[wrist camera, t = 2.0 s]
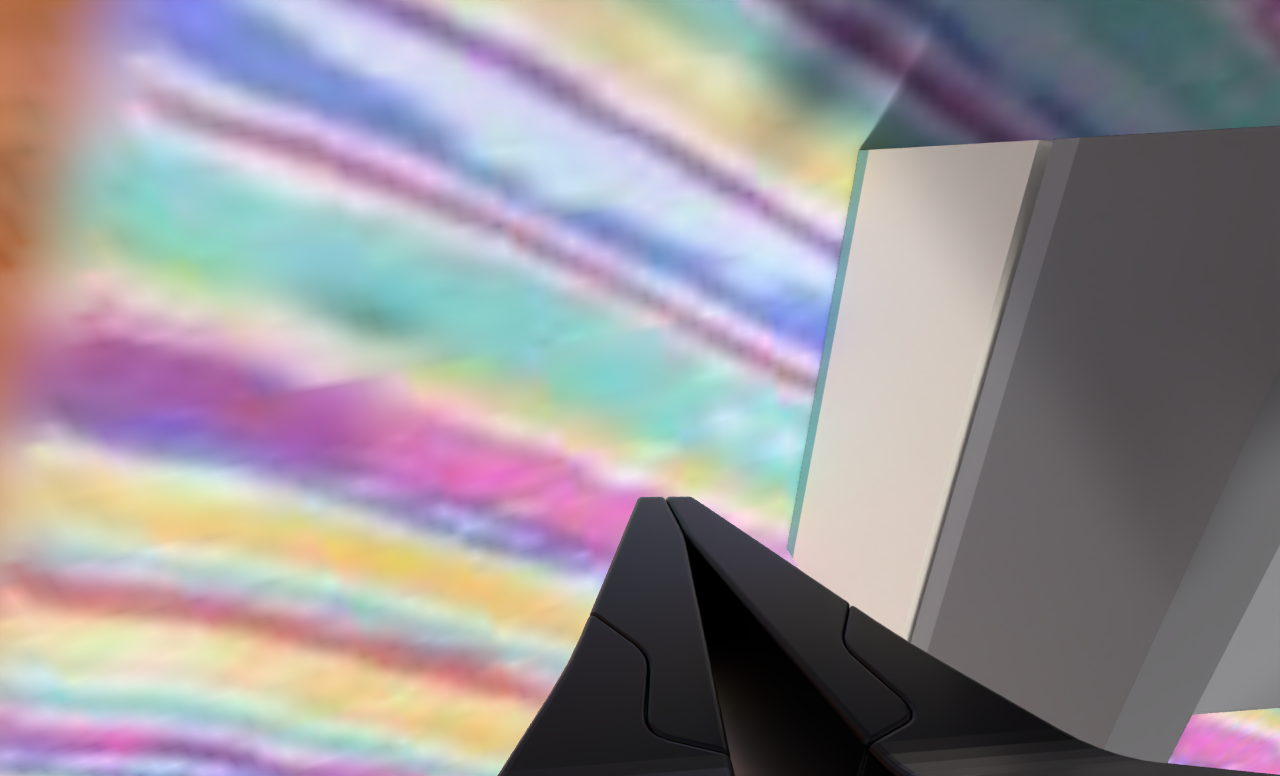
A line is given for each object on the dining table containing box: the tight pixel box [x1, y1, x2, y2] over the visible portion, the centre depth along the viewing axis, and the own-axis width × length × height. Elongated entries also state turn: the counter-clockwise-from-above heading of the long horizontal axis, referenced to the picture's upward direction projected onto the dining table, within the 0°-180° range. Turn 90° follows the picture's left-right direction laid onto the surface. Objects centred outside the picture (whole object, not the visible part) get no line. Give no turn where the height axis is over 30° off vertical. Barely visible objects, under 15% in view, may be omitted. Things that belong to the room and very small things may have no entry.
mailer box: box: [787, 140, 1053, 643], centre depth 15 cm, size 12×14×6 cm
